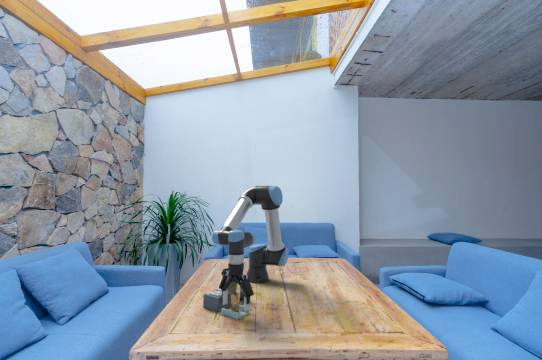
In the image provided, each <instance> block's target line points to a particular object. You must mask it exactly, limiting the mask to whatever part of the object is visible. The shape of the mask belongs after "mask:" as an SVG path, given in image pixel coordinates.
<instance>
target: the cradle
mask: <svg viewBox="0 0 542 360" xmlns="http://www.w3.org/2000/svg"><path fill="white" fill-rule="evenodd" d="M217 290H218V291H222V290H221V289H219V288H216V289H215V291H217ZM202 302H203V303H202V304H203V306H202V307H203V308H205V309H207V310H211V311H215V312H217V313H218V312H220V311H221V309H222V308H225V309H228V308H229V307H231V293H230V292H228V303H227V304H225V305H223V297H221V298H220V297H216V296H213V295H209V293H203V301H202Z"/></svg>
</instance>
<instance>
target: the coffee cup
mask: <svg viewBox="0 0 542 360" xmlns="http://www.w3.org/2000/svg"><path fill="white" fill-rule="evenodd" d="M227 270H228V267H226V268H223V269H222V271H221V275H222V276H221V277H222V278H223V275H224V271H227ZM222 278H221V279H222ZM228 279H229V275H228V278H227V280H228ZM227 280H226V282H227ZM226 290H228V292H230V293H234V292H237V290H238V283H235V282H231V284H230V285H229V286H228V288H227V289H226Z"/></svg>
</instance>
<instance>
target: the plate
mask: <svg viewBox="0 0 542 360" xmlns="http://www.w3.org/2000/svg"><path fill="white" fill-rule="evenodd" d="M218 290H219V289H218ZM218 290H217V291H216V290H215V291H211V292H209V293H208V294H209V295H213V296H216V297H220V298H221V297H222V291H218Z"/></svg>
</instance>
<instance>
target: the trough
mask: <svg viewBox="0 0 542 360" xmlns="http://www.w3.org/2000/svg"><path fill="white" fill-rule="evenodd" d="M250 309H251V308H250V306H249V310H247V311H244V304H242V305H241V304H239V313H238V312H235V311H231V308H230V309H228V308H222V309H221V310H220V311H221V313H220V315H222V316H225V317H227V318H231V319H234V320H239V319H241V318H244V317H245V316H247V315H249V314H250Z"/></svg>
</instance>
